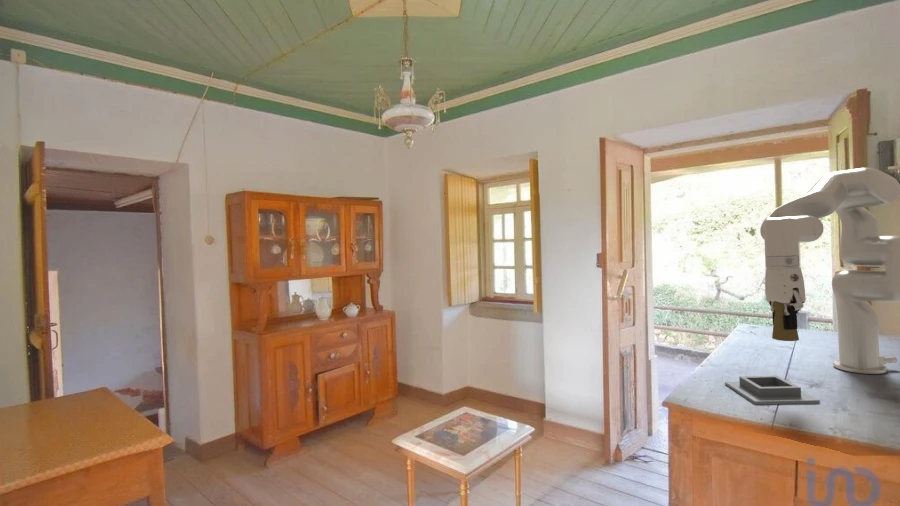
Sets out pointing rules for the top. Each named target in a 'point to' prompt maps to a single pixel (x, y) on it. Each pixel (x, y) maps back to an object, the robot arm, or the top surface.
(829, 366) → the top surface
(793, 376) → the top surface
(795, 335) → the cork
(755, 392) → the bay base
